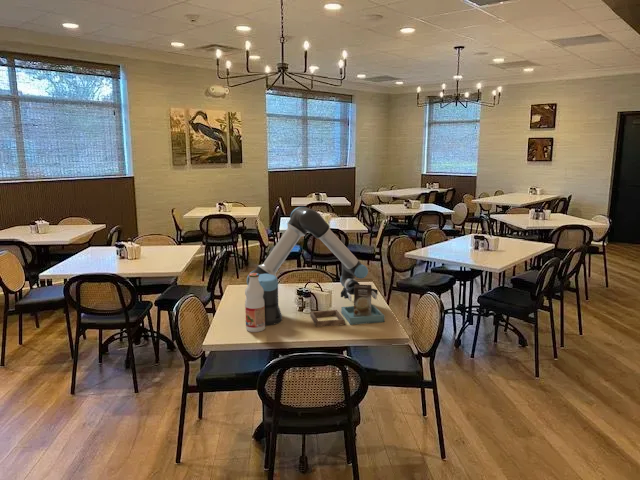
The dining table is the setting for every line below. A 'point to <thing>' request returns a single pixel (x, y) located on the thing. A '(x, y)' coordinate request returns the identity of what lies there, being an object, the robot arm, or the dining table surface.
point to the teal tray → (374, 318)
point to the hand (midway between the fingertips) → (363, 297)
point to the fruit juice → (254, 305)
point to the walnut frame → (328, 322)
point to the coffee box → (362, 300)
